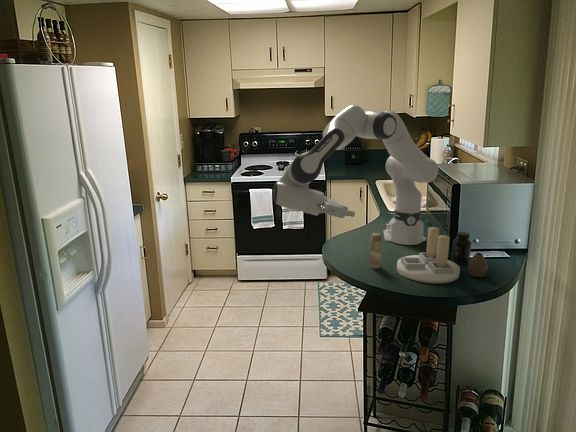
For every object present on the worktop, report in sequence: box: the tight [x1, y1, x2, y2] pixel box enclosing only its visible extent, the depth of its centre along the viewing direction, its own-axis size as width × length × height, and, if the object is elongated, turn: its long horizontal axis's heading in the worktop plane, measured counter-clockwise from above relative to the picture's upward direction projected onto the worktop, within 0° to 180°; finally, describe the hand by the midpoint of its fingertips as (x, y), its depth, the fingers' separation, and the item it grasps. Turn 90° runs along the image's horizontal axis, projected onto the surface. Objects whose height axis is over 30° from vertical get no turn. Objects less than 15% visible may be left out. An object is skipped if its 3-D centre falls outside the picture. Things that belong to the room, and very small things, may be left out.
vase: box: [467, 252, 489, 278], centre depth 180 cm, size 7×7×9 cm
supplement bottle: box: [451, 231, 472, 265], centre depth 194 cm, size 7×7×12 cm
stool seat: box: [396, 226, 461, 284], centre depth 183 cm, size 23×23×16 cm
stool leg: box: [369, 232, 383, 269], centre depth 188 cm, size 4×4×13 cm
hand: (350, 211), depth 180 cm, fingers open, 8 cm apart
